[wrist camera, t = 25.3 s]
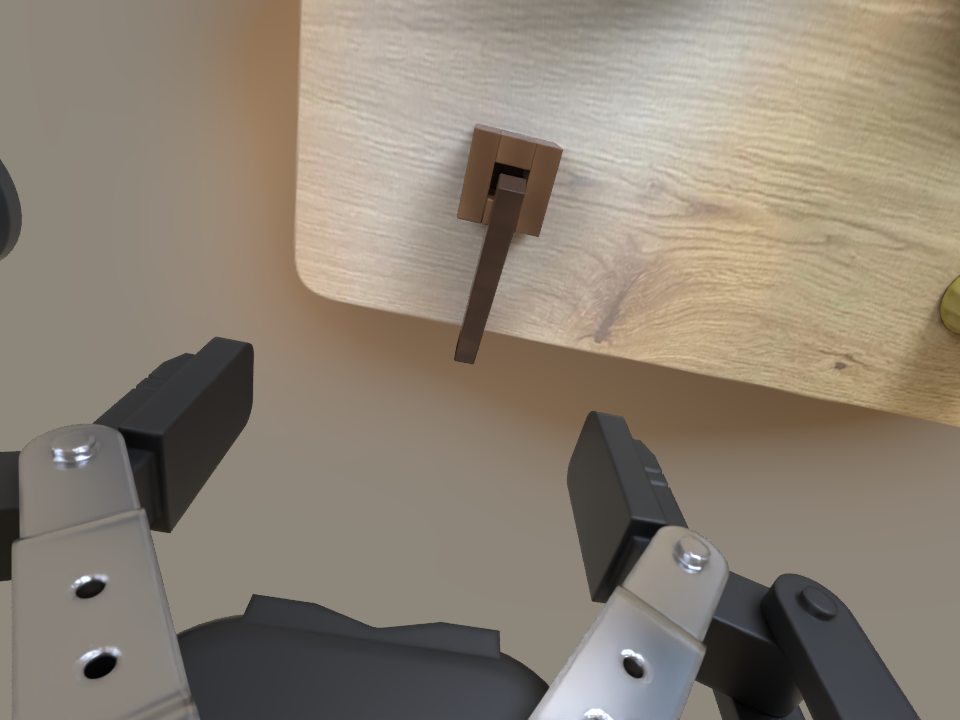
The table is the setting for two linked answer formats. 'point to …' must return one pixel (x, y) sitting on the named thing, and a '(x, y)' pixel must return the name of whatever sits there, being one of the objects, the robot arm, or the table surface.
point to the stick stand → (516, 152)
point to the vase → (951, 307)
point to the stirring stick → (490, 264)
